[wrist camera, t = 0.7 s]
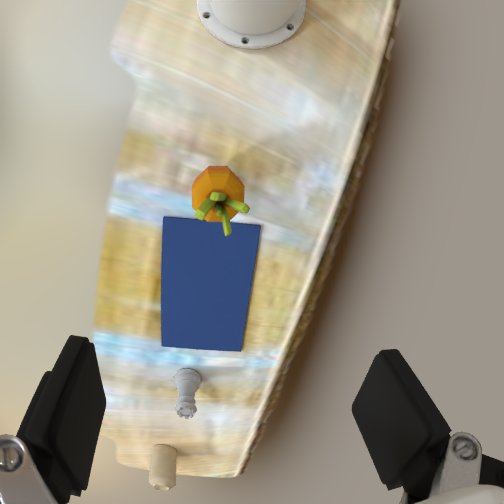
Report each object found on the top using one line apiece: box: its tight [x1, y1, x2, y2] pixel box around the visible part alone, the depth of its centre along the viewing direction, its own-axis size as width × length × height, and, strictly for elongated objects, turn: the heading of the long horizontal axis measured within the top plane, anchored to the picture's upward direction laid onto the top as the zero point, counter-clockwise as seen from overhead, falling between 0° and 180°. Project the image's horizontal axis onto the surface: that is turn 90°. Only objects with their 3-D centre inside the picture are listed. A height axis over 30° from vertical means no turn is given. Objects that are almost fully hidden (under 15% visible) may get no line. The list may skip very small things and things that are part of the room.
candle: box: [149, 445, 177, 491], centre depth 54 cm, size 6×6×10 cm
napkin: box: [161, 217, 261, 352], centre depth 43 cm, size 20×12×1 cm, turn 172°
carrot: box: [192, 166, 250, 236], centre depth 31 cm, size 5×5×15 cm
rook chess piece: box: [174, 368, 201, 419], centre depth 46 cm, size 4×4×8 cm
